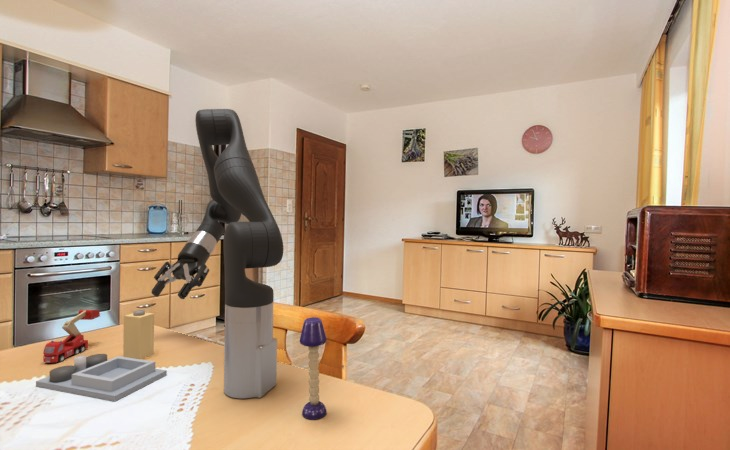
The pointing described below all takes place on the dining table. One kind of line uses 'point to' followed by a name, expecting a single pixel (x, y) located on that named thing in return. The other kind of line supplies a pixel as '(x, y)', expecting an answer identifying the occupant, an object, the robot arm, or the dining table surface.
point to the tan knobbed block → (138, 335)
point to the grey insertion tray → (102, 376)
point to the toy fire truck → (69, 339)
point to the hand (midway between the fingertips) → (167, 296)
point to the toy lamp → (313, 365)
